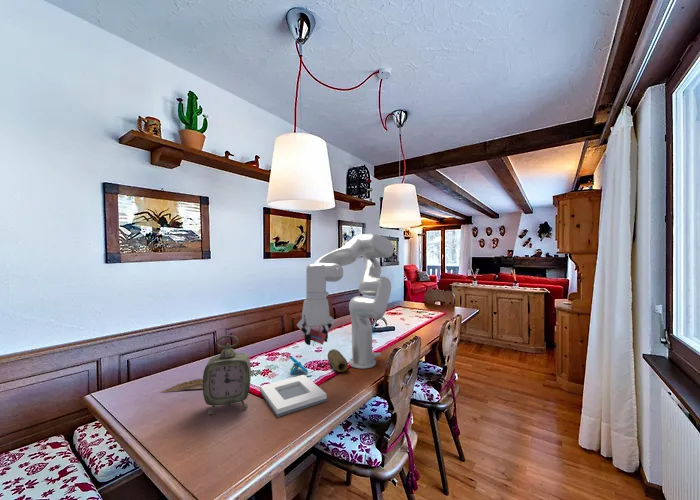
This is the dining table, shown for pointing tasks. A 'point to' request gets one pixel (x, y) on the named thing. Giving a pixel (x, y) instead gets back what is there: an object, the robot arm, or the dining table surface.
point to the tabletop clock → (227, 377)
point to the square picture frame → (292, 395)
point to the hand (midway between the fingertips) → (316, 342)
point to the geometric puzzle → (317, 336)
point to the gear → (297, 365)
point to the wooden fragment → (187, 385)
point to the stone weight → (337, 360)
